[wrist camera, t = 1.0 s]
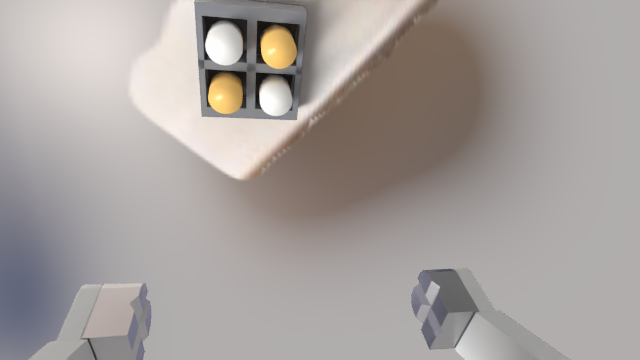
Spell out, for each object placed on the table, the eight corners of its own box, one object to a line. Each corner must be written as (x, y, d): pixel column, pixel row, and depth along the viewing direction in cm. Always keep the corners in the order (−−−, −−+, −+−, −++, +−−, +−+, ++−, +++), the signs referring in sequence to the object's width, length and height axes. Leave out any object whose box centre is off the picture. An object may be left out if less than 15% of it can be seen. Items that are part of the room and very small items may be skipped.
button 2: (259, 73, 34) (260, 84, 32) (290, 75, 35) (293, 86, 33) (258, 102, 36) (259, 115, 34) (288, 104, 37) (291, 116, 35)
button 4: (260, 23, 32) (261, 32, 30) (294, 26, 33) (298, 35, 30) (259, 57, 34) (260, 67, 31) (292, 59, 34) (295, 70, 32)
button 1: (209, 70, 34) (207, 81, 31) (242, 72, 34) (242, 83, 32) (211, 100, 35) (208, 113, 33) (242, 101, 36) (242, 114, 34)
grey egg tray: (197, -5, 32) (194, 1, 30) (303, 5, 33) (307, 12, 31) (204, 105, 37) (201, 116, 35) (294, 108, 39) (296, 120, 37)
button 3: (207, 18, 31) (204, 27, 29) (242, 21, 32) (242, 30, 30) (208, 53, 33) (206, 64, 31) (242, 55, 33) (242, 66, 31)
